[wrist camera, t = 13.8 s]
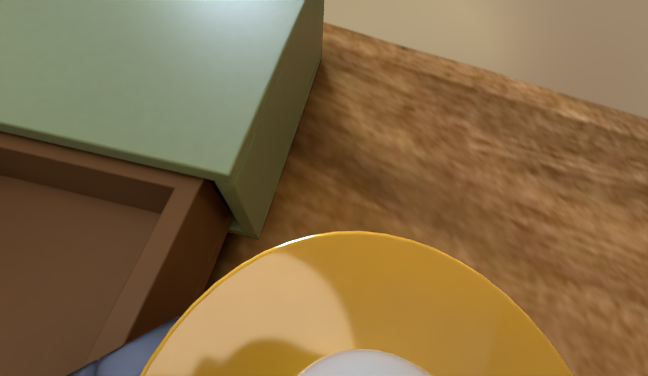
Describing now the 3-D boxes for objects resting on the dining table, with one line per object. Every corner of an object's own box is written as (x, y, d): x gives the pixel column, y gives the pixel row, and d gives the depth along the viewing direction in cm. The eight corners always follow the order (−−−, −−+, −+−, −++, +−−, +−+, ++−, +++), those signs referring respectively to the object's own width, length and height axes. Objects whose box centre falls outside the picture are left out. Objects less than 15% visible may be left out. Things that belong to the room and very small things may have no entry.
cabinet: (259, 240, 15) (229, 175, 9) (-7, 175, 16) (-184, 80, 10) (321, 57, 21) (326, -49, 15) (126, 18, 22) (63, -96, 16)
